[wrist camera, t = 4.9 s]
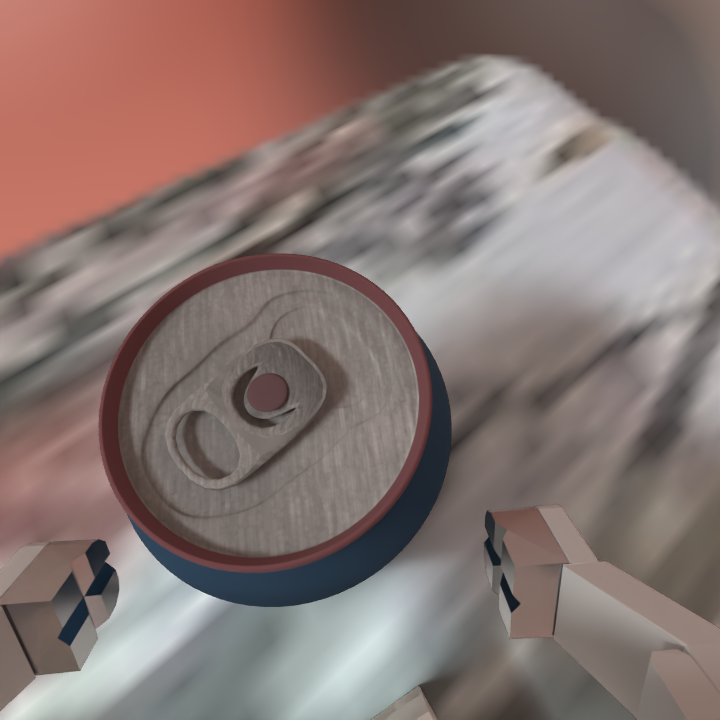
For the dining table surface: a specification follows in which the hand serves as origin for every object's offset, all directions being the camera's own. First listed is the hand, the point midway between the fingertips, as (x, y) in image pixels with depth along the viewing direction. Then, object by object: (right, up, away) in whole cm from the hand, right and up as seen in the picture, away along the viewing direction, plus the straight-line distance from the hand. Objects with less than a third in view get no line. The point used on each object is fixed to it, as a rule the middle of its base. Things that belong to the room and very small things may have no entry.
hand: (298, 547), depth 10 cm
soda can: (0, -1, +9) cm, 9 cm away
